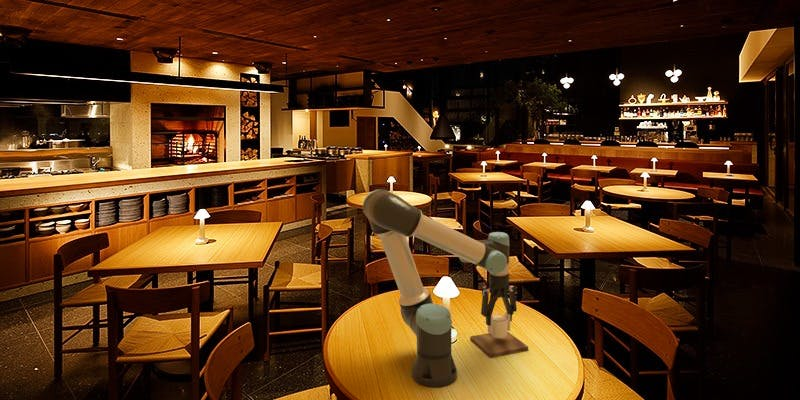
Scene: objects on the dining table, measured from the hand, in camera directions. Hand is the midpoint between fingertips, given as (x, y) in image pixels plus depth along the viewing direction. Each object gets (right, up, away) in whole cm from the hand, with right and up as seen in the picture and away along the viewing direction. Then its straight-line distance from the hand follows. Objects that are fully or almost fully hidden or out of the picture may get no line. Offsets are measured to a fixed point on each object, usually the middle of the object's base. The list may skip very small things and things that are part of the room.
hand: (498, 331), depth 179 cm
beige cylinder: (0, -2, 0) cm, 2 cm away
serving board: (0, -6, +1) cm, 6 cm away
